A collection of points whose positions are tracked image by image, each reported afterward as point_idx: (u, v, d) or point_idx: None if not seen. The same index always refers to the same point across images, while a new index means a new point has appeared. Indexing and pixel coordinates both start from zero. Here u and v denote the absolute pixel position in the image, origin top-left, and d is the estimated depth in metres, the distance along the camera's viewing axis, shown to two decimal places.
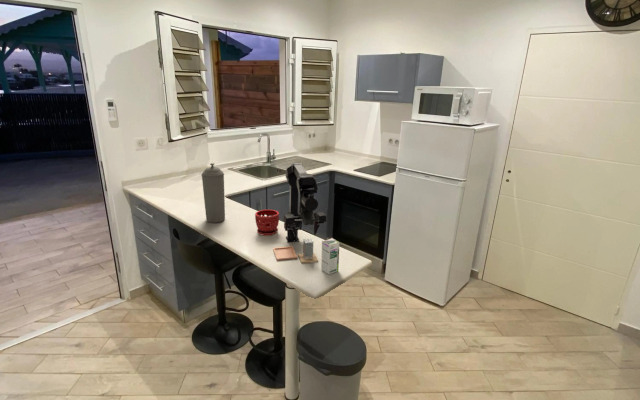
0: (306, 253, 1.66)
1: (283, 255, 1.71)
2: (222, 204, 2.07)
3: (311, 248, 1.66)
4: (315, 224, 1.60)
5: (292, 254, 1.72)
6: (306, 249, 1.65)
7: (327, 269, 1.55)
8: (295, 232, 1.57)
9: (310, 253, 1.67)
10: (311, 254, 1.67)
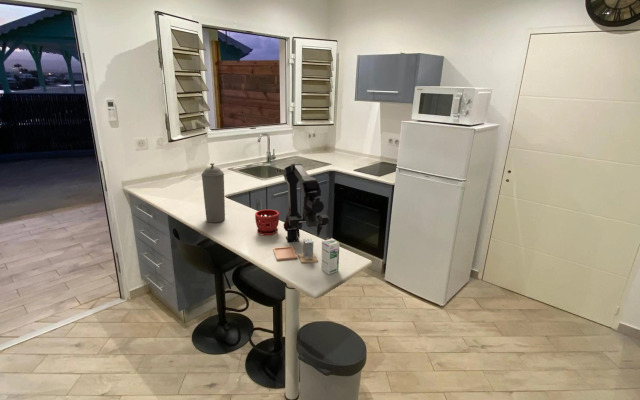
0: (306, 253, 1.66)
1: (283, 255, 1.71)
2: (222, 204, 2.07)
3: (311, 248, 1.66)
4: (318, 226, 1.66)
5: (292, 254, 1.72)
6: (306, 249, 1.65)
7: (327, 269, 1.55)
8: (299, 233, 1.63)
9: (310, 253, 1.67)
10: (311, 254, 1.67)
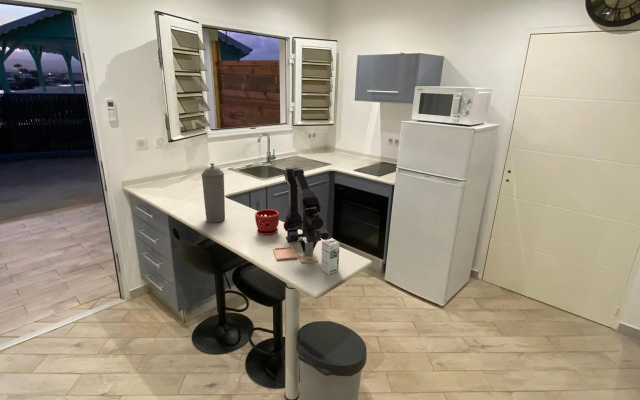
0: (306, 253, 1.66)
1: (283, 255, 1.71)
2: (222, 204, 2.07)
3: (311, 248, 1.66)
4: None
5: (292, 254, 1.72)
6: (306, 249, 1.65)
7: (327, 269, 1.55)
8: None
9: (310, 253, 1.67)
10: (311, 254, 1.67)
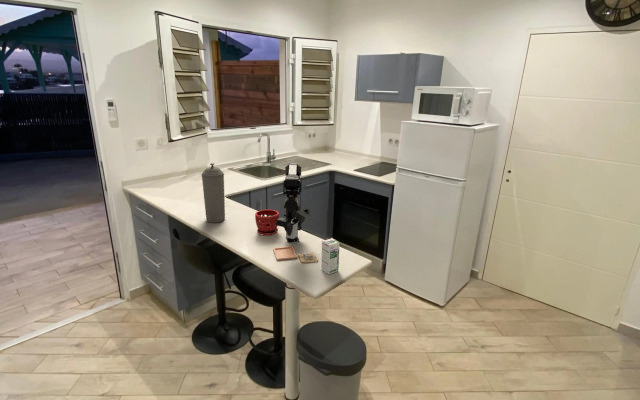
0: (293, 235, 1.67)
1: (283, 255, 1.71)
2: (222, 204, 2.07)
3: (296, 229, 1.68)
4: None
5: (292, 254, 1.72)
6: (293, 231, 1.66)
7: (327, 269, 1.55)
8: None
9: (296, 234, 1.69)
10: (296, 235, 1.69)
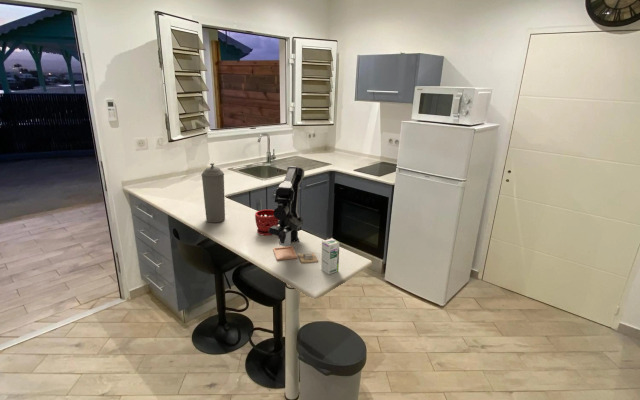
0: (286, 243, 1.69)
1: (283, 255, 1.71)
2: (222, 204, 2.07)
3: (289, 237, 1.71)
4: None
5: (292, 254, 1.72)
6: (286, 239, 1.69)
7: (327, 269, 1.55)
8: None
9: (289, 242, 1.71)
10: (289, 243, 1.72)
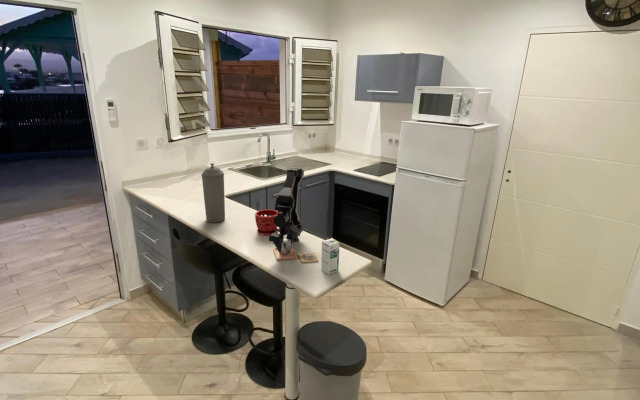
0: (286, 252, 1.71)
1: (283, 255, 1.71)
2: (222, 204, 2.07)
3: (289, 246, 1.72)
4: (289, 236, 1.75)
5: (292, 254, 1.72)
6: (286, 248, 1.70)
7: (327, 269, 1.55)
8: None
9: (289, 251, 1.72)
10: (289, 252, 1.73)
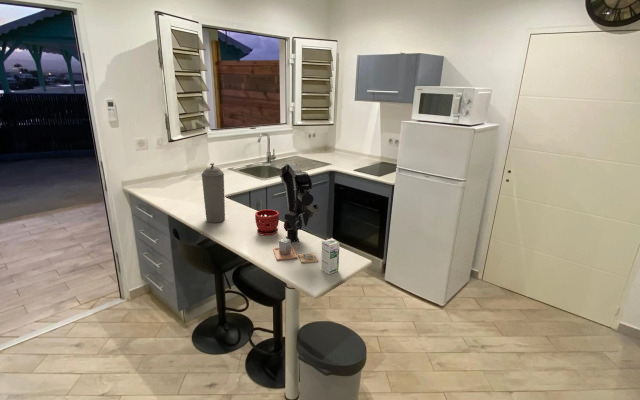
0: (286, 252, 1.71)
1: (283, 255, 1.71)
2: (222, 204, 2.07)
3: (289, 246, 1.72)
4: (305, 216, 1.75)
5: (292, 254, 1.72)
6: (286, 248, 1.70)
7: (327, 269, 1.55)
8: (296, 227, 1.68)
9: (289, 251, 1.72)
10: (289, 252, 1.73)
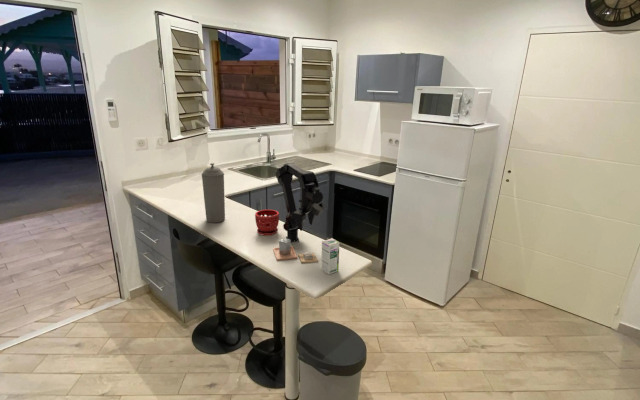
0: (286, 252, 1.71)
1: (283, 255, 1.71)
2: (222, 204, 2.07)
3: (289, 246, 1.72)
4: (311, 215, 1.77)
5: (292, 254, 1.72)
6: (286, 248, 1.70)
7: (327, 269, 1.55)
8: None
9: (289, 251, 1.72)
10: (289, 252, 1.73)
